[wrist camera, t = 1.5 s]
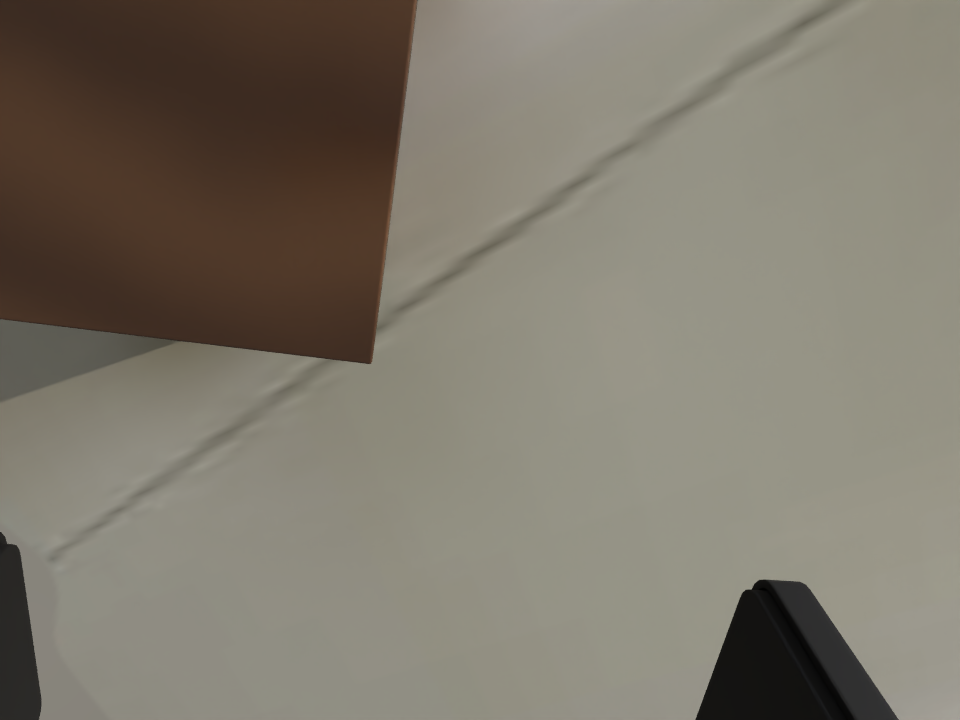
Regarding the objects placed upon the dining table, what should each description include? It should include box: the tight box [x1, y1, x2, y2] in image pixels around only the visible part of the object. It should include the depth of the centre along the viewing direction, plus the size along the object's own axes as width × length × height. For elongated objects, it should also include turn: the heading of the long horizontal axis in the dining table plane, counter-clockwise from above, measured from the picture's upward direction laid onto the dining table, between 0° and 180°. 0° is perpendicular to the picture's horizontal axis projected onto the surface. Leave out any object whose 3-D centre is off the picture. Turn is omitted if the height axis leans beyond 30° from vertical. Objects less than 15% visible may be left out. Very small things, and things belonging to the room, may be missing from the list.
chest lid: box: [0, 0, 417, 364], centre depth 18 cm, size 17×13×5 cm
